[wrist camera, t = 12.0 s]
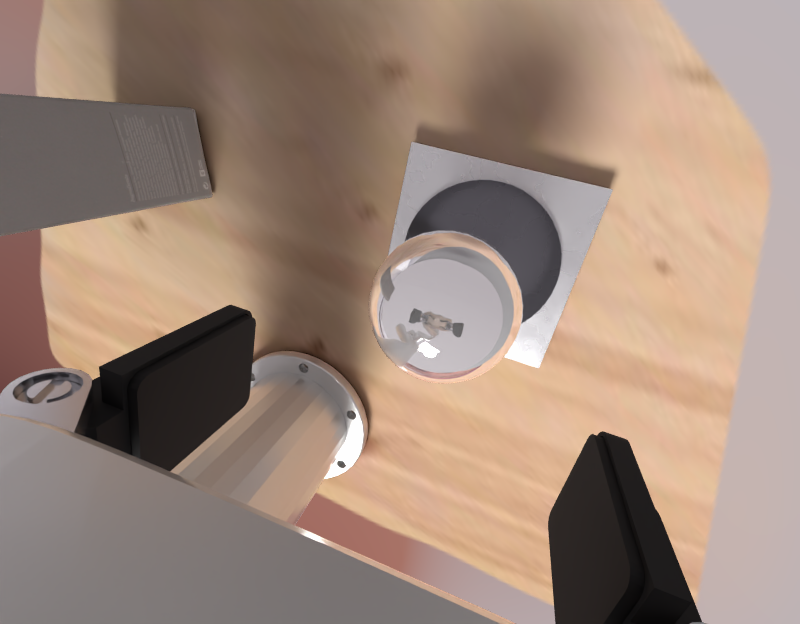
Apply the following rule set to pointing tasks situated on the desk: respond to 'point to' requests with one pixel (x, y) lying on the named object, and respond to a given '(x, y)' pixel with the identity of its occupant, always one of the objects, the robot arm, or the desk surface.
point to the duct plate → (507, 226)
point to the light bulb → (446, 306)
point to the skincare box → (94, 160)
